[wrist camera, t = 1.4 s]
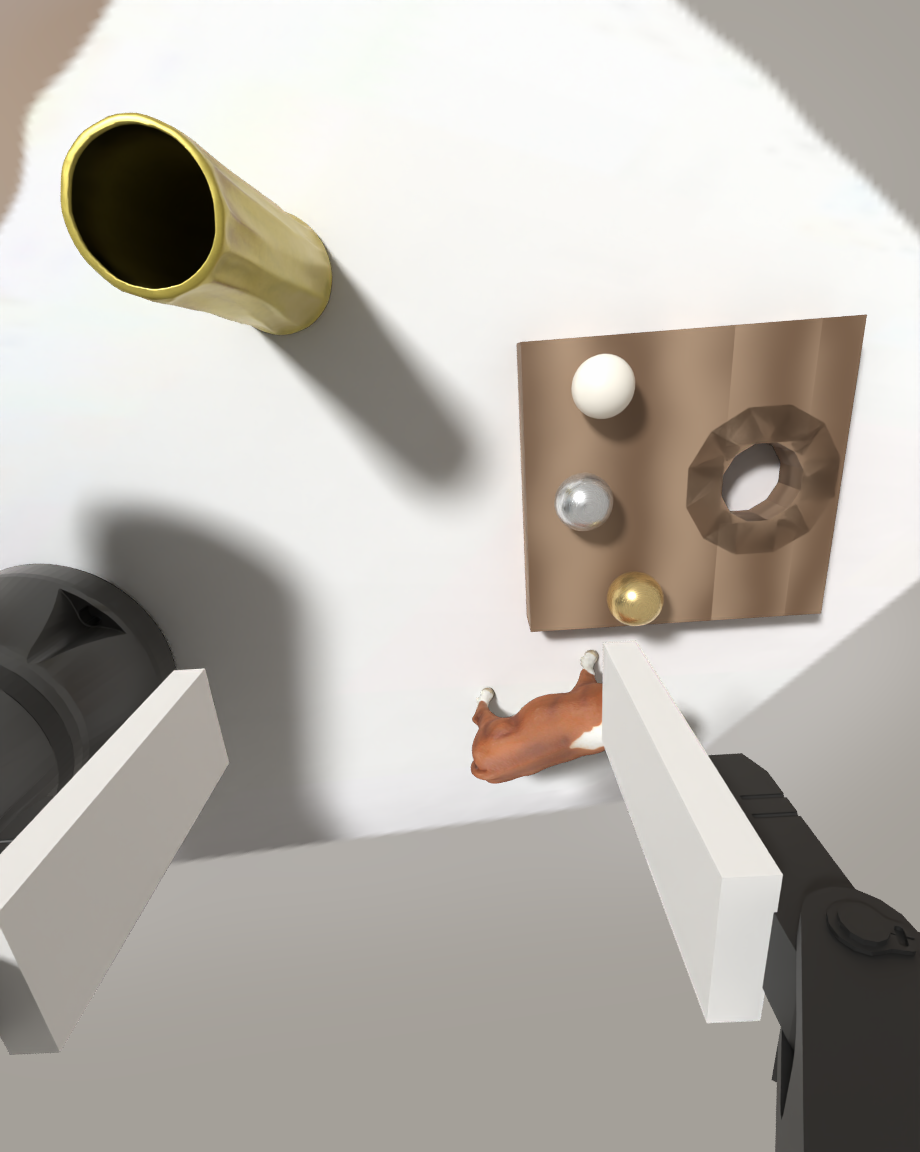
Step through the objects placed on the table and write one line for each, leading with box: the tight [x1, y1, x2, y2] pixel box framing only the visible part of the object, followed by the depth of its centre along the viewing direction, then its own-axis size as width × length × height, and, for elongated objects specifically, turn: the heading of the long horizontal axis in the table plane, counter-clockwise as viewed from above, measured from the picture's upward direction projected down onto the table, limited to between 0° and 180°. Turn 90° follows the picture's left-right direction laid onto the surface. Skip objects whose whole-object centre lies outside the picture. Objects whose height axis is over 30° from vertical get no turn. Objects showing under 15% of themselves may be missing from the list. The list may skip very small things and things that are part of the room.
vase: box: [61, 113, 332, 335], centre depth 25 cm, size 6×6×14 cm
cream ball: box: [571, 354, 635, 419], centre depth 30 cm, size 3×3×3 cm
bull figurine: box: [471, 650, 685, 783], centre depth 37 cm, size 4×13×8 cm, turn 108°
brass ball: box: [607, 572, 664, 626], centre depth 34 cm, size 3×3×3 cm
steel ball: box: [554, 473, 613, 531], centre depth 32 cm, size 3×3×3 cm
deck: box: [517, 315, 867, 632], centre depth 34 cm, size 18×17×2 cm
